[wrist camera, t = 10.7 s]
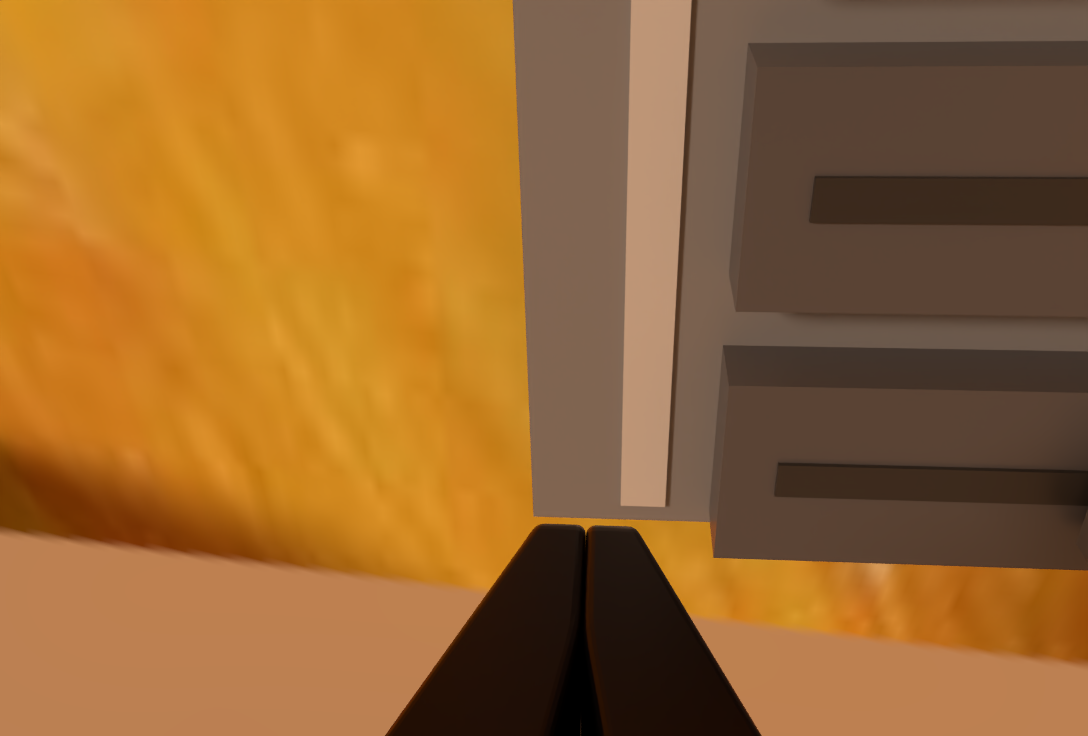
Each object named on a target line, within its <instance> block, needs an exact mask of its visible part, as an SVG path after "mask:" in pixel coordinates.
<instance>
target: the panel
mask: <svg viewBox="0 0 1088 736" xmlns="http://www.w3.org/2000/svg"><path fill="white" fill-rule="evenodd" d="M513 15H514V40H515V65H516V90H517V115H518V139H519V164H520V189H521V214H522V239H523V264H524V288H525V313H526V338H527V363H528V388H529V412H530V437H531V462H532V487H533V512H534V516H538V517H570V518H602V519H634V520H667V521H699V522H710V527H711V537H712V547H713V557H714V558H737V559H767V560H796V561H826V562H855V563H885V564H915V565H944V566H974V567H1003V568H1033V569H1062V570H1088V0H513Z"/></svg>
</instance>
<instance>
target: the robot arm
mask: <svg viewBox="0 0 1088 736" xmlns="http://www.w3.org/2000/svg"><path fill="white" fill-rule="evenodd" d="M385 736H761V734H760V733H759V731H758V729H757V727H756V726H755V724H754V722H753V721H752V719H751V717H750V716H749V714H748V712H747V711H746V709H745V707H744V706H743V704H742V703H741V701H740V699H739V698H738V696H737V694H736V693H735V691H734V689H733V688H732V686H731V684H730V683H729V681H728V679H727V678H726V676H725V674H724V673H723V671H722V669H721V668H720V666H719V665H718V663H717V661H716V659H715V658H714V656H713V655H712V653H711V651H710V650H709V648H708V646H707V645H706V643H705V641H704V640H703V638H702V636H701V635H700V633H699V631H698V630H697V628H696V626H695V625H694V623H693V621H692V620H691V618H690V616H689V615H688V613H687V611H686V610H685V608H684V607H683V605H682V603H681V602H680V600H679V598H678V597H677V595H676V593H675V592H674V590H673V588H672V587H671V585H670V583H669V582H668V580H667V578H666V577H665V575H664V573H663V572H662V570H661V568H660V567H659V565H658V563H657V562H656V560H655V558H654V557H653V555H652V554H651V552H650V550H649V549H648V547H647V545H646V544H645V542H644V540H643V539H642V537H641V535H640V534H639V533H638V531H637V530H636V529H634V528H632V527H627V526H597V525H595V526H592V527H590V528H589V529H588V530H587V533H586V534H585V530H584V528H583V527H581V526H580V525H566V524H540V525H538V526H536V527H535V528H534V529H533V530H532V532H531V533H530V534H529V536H528V537H527V539H526V540H525V541H524V543H523V544H522V546H521V547H520V548H519V550H518V551H517V552H516V554H515V555H514V557H513V558H512V559H511V561H510V562H509V564H508V565H507V566H506V568H505V569H504V571H503V572H502V573H501V575H500V576H499V578H498V579H497V580H496V582H495V583H494V585H493V586H492V587H491V589H490V590H489V592H488V593H487V594H486V596H485V597H484V598H483V600H482V601H481V603H480V604H479V605H478V607H477V608H476V610H475V611H474V612H473V614H472V615H471V617H470V618H469V620H468V621H467V622H466V624H465V625H464V626H463V628H462V629H461V631H460V632H459V634H458V635H457V636H456V638H455V639H454V640H453V642H452V643H451V644H450V646H449V647H448V649H447V650H446V652H445V653H444V654H443V656H442V657H441V659H440V660H439V661H438V663H437V664H436V665H435V667H434V668H433V670H432V671H431V672H430V674H429V675H428V677H427V678H426V680H425V681H424V682H423V684H422V685H421V687H420V688H419V689H418V691H417V692H416V694H415V695H414V696H413V698H412V699H411V700H410V702H409V703H408V704H407V706H406V708H405V709H404V710H403V711H402V713H401V714H400V716H399V717H398V719H397V720H396V721H395V723H394V724H393V725H392V727H391V728H390V730H389V731H388V733H387V734H386V735H385Z"/></svg>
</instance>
